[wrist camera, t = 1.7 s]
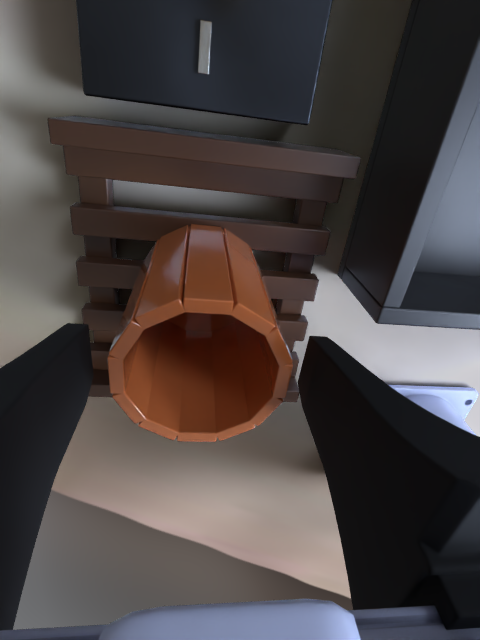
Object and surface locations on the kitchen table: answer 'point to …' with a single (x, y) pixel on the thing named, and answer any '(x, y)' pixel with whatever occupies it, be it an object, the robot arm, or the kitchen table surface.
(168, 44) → the black flat block
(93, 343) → the rack
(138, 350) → the cup
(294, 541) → the kitchen table surface
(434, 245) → the sink
